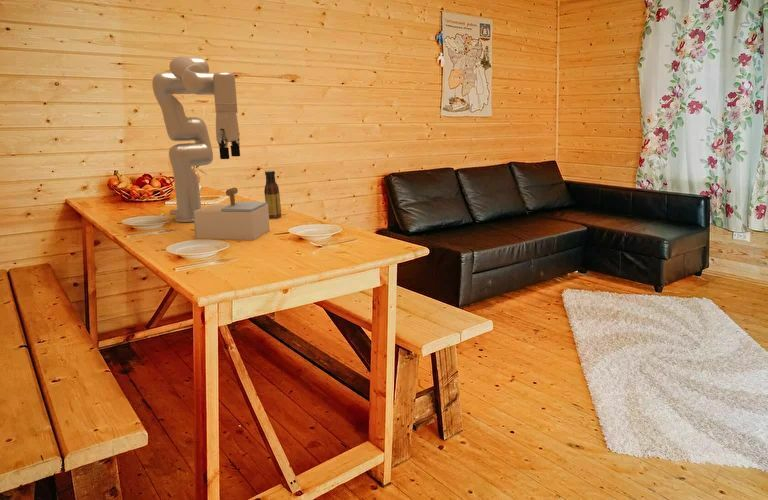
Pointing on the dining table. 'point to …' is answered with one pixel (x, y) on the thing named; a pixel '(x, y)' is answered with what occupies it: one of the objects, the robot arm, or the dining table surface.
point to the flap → (241, 203)
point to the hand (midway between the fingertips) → (230, 157)
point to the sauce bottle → (272, 195)
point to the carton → (230, 223)
